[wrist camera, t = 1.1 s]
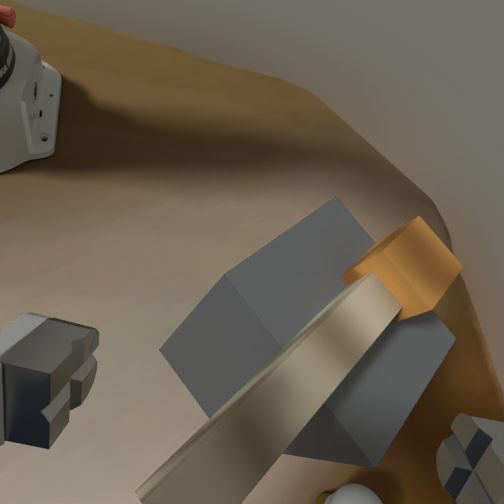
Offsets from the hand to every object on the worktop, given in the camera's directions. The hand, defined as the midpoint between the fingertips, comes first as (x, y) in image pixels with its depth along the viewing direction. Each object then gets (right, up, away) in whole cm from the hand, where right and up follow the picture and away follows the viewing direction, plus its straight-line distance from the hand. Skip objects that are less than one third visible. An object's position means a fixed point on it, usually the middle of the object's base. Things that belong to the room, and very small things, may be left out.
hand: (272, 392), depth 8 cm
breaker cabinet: (-3, -11, +38) cm, 40 cm away
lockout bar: (+3, -3, +13) cm, 14 cm away
